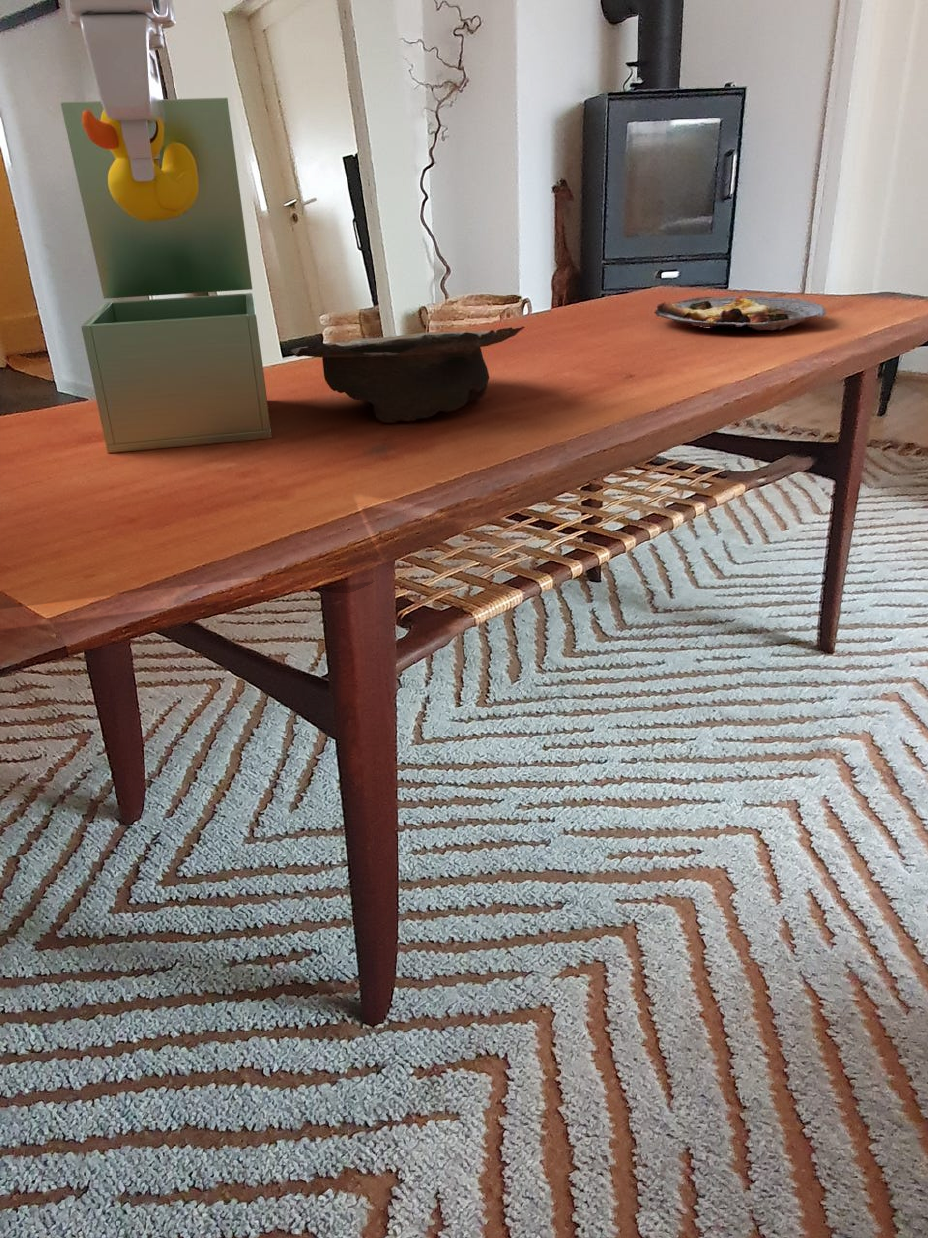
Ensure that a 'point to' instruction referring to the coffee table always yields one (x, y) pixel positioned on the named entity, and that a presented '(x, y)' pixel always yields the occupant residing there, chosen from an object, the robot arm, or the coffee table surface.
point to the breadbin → (177, 372)
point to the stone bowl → (409, 371)
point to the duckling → (171, 183)
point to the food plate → (741, 311)
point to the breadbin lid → (174, 248)
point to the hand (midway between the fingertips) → (149, 180)
